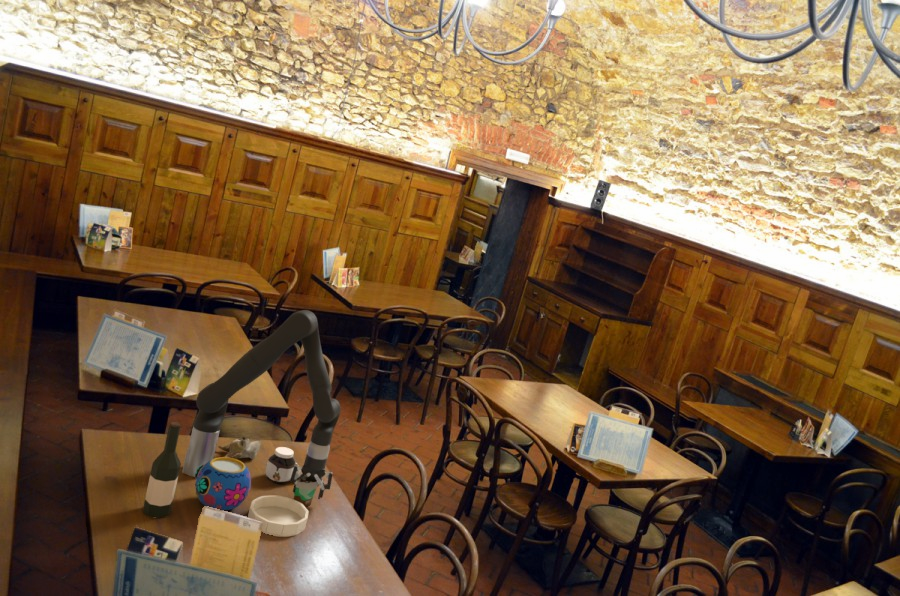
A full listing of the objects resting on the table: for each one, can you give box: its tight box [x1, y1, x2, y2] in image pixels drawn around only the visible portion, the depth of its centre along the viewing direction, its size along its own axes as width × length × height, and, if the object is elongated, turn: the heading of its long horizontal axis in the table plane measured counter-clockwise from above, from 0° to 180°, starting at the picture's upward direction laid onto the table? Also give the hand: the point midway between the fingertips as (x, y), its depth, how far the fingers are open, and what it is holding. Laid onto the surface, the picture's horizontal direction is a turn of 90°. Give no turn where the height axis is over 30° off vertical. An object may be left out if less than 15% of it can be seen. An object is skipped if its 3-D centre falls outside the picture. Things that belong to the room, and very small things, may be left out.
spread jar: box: [265, 446, 303, 485], centre depth 273 cm, size 12×11×12 cm
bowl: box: [247, 494, 310, 538], centre depth 243 cm, size 19×19×4 cm
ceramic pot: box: [194, 456, 252, 511], centre depth 242 cm, size 18×18×15 cm
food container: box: [293, 479, 320, 508], centre depth 259 cm, size 12×6×10 cm, turn 168°
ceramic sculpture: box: [217, 436, 262, 460], centre depth 282 cm, size 11×9×15 cm
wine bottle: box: [142, 421, 182, 519], centre depth 228 cm, size 8×8×30 cm
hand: (307, 495), depth 259 cm, fingers open, 8 cm apart
